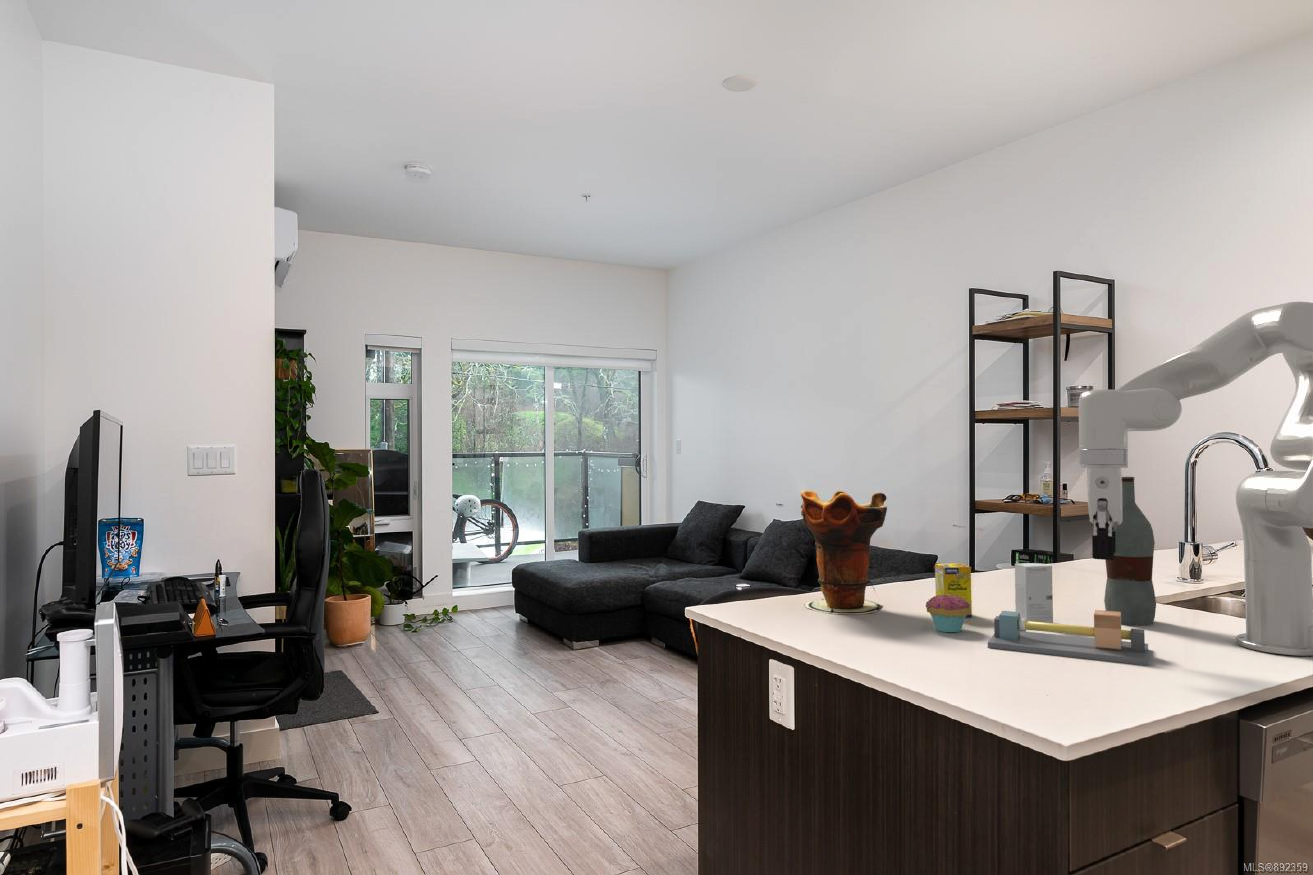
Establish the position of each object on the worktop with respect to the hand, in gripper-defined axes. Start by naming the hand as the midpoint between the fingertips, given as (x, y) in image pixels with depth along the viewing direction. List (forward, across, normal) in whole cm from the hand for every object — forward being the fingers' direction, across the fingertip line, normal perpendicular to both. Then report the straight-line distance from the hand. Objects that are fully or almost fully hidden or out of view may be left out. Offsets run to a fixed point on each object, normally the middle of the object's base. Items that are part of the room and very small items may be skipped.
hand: (1104, 555), depth 139 cm
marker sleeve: (+16, 0, 0) cm, 16 cm away
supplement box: (+18, +20, +30) cm, 40 cm away
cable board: (+17, 0, +6) cm, 18 cm away
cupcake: (+18, +5, +28) cm, 33 cm away
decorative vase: (+18, +18, +54) cm, 59 cm away
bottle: (+17, +30, -3) cm, 35 cm away
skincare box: (+17, +20, +14) cm, 30 cm away
